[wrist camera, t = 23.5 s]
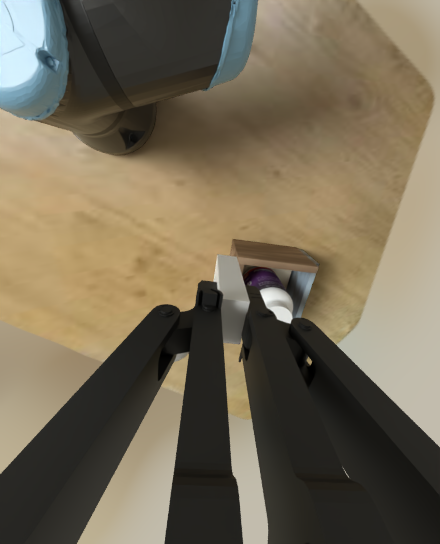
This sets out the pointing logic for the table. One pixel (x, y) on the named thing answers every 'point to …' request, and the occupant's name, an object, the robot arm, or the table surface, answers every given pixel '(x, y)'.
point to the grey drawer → (294, 285)
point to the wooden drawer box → (271, 256)
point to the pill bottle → (271, 291)
